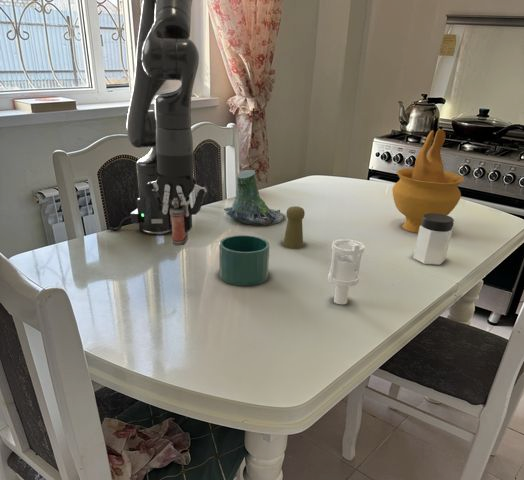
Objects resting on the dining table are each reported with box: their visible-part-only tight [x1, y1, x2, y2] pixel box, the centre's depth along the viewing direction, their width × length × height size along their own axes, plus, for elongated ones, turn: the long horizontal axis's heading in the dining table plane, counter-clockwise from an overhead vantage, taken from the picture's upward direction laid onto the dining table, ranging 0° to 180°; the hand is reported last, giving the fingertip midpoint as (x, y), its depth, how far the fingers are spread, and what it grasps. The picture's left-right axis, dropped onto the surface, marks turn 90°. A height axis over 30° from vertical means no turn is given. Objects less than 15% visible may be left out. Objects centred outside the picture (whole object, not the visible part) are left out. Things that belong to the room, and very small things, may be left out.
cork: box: [282, 205, 306, 249], centre depth 145 cm, size 6×6×11 cm
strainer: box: [327, 238, 365, 305], centre depth 113 cm, size 7×7×15 cm
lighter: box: [170, 197, 189, 247], centre depth 112 cm, size 8×3×10 cm, turn 2°
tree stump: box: [223, 169, 284, 226], centre depth 164 cm, size 18×20×18 cm
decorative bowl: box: [391, 128, 465, 234], centre depth 158 cm, size 21×21×30 cm
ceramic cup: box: [218, 234, 270, 287], centre depth 125 cm, size 12×12×8 cm
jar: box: [412, 213, 455, 266], centre depth 139 cm, size 9×8×12 cm
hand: (178, 230), depth 114 cm, fingers closed on lighter, 3 cm apart
